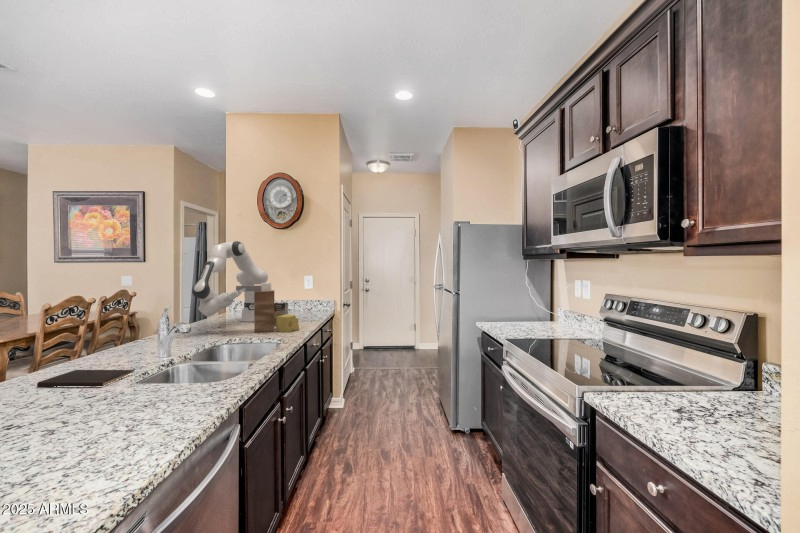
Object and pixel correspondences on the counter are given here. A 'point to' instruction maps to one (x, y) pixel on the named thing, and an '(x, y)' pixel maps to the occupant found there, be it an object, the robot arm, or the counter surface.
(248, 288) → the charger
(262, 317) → the stand
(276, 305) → the coffee box
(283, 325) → the cheese
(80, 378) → the hardcover book
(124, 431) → the counter surface
